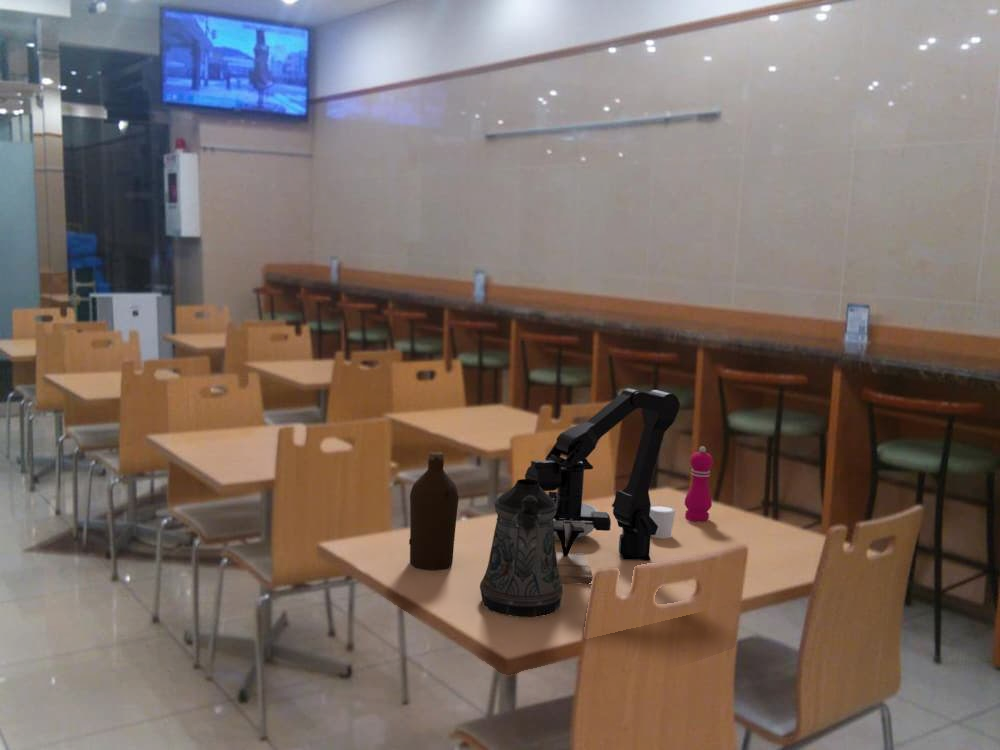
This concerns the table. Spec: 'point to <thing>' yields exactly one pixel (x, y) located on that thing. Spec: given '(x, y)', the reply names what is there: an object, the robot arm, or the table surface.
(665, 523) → the shot glass
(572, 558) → the plank
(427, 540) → the olive oil
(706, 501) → the pepper mill
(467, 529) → the table surface
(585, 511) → the cereal bowl
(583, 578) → the laid board
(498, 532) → the ornate coffee pot
